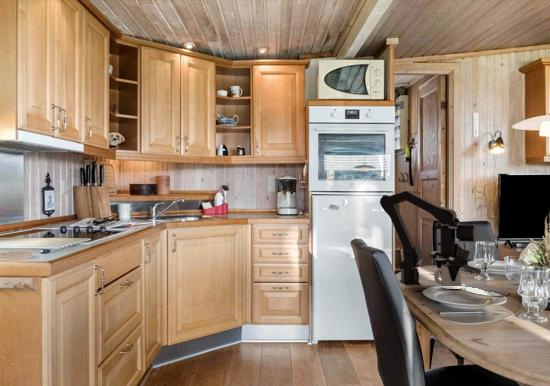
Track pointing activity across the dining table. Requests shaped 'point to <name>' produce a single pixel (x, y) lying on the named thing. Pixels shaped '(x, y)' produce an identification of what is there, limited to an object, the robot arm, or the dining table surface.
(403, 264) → the robot arm
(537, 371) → the dining table surface
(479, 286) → the saucer
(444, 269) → the cup
